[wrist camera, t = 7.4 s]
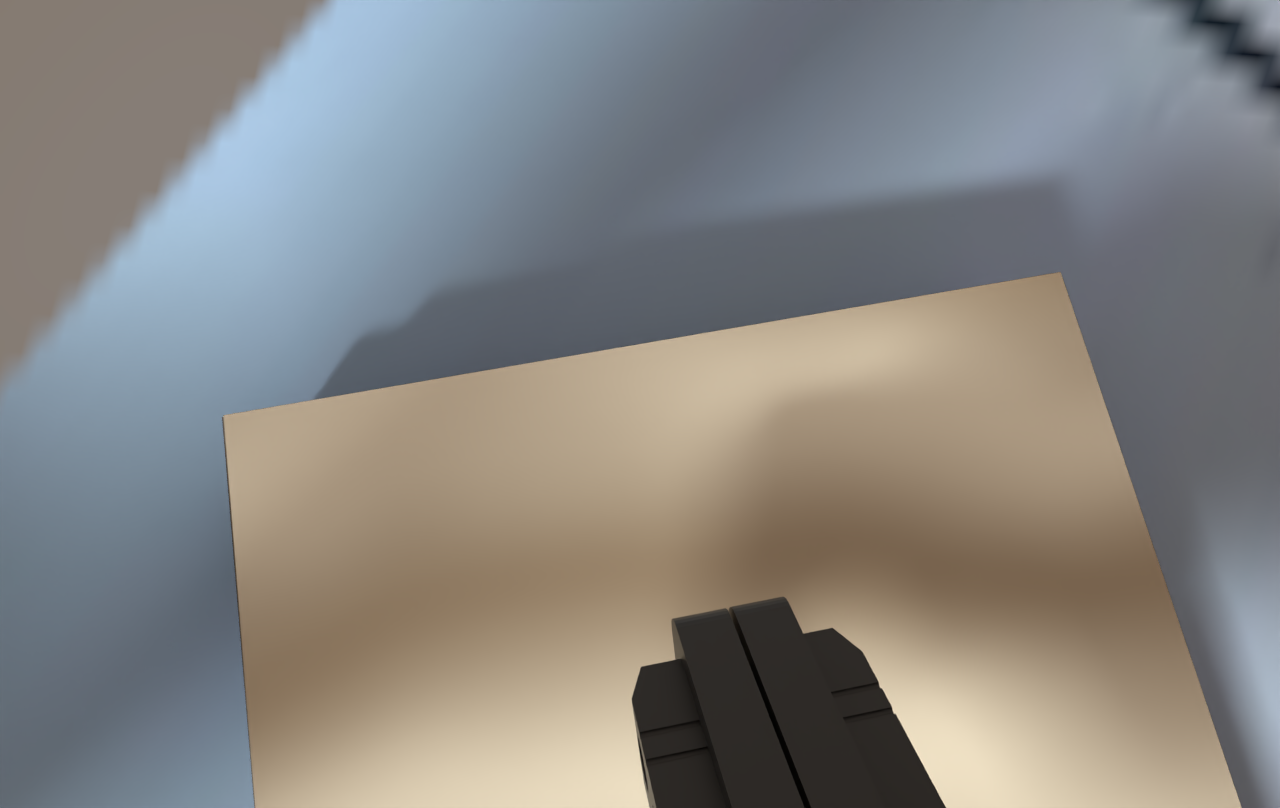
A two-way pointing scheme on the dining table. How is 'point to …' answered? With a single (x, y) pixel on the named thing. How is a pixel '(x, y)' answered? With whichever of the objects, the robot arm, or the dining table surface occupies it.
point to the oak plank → (715, 561)
